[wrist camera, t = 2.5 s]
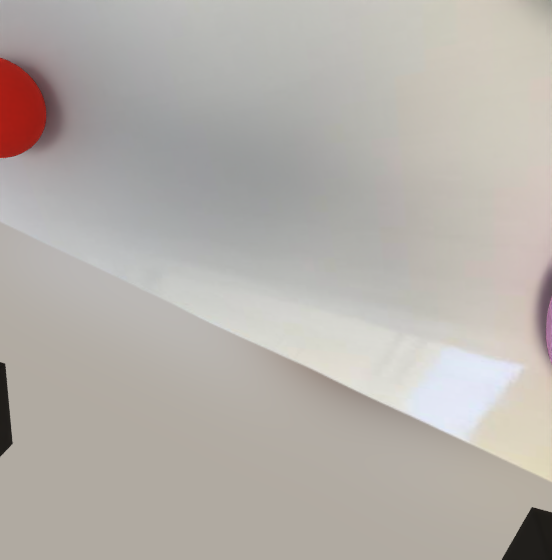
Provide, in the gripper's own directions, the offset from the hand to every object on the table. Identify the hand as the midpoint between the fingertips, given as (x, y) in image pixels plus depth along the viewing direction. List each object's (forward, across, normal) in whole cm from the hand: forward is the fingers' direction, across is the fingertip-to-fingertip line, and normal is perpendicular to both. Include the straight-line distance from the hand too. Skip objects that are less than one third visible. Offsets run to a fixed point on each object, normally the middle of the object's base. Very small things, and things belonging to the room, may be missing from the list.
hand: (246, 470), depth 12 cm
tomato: (+28, -25, +1) cm, 38 cm away
